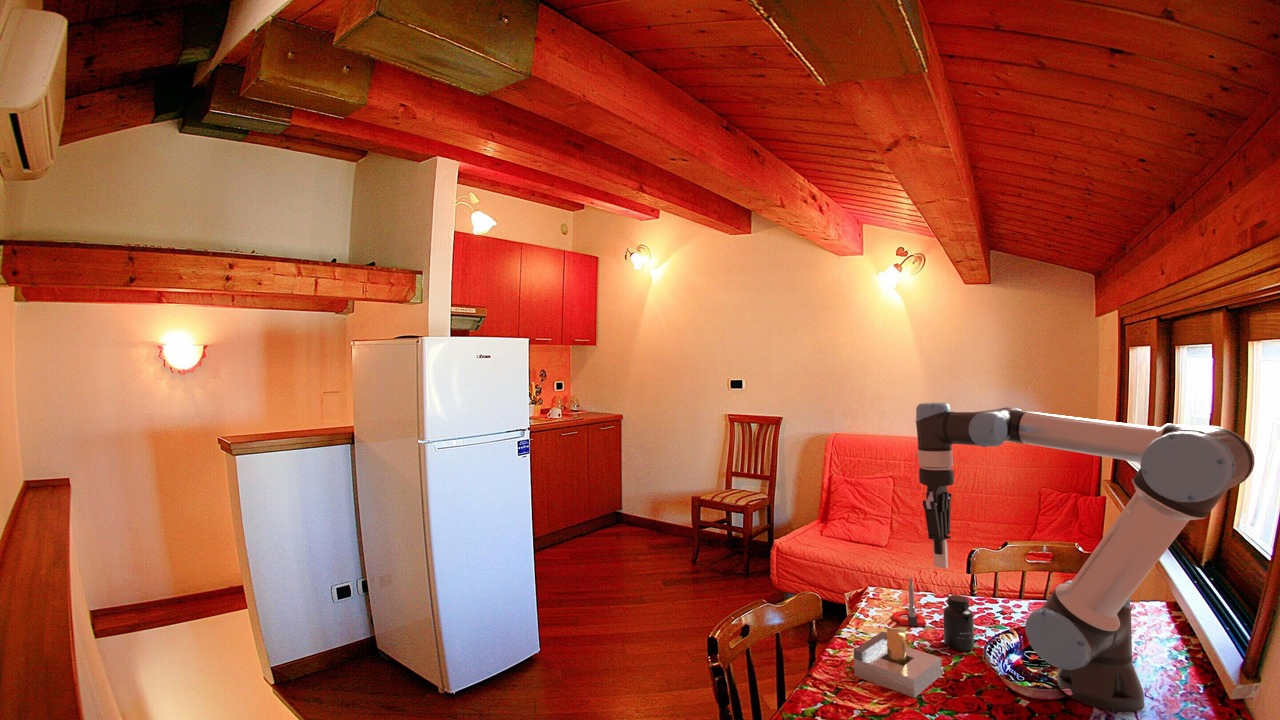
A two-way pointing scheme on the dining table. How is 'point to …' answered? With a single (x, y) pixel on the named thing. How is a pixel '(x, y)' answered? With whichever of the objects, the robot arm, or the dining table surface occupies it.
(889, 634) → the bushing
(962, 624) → the supplement bottle
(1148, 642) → the dining table surface
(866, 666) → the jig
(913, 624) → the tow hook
